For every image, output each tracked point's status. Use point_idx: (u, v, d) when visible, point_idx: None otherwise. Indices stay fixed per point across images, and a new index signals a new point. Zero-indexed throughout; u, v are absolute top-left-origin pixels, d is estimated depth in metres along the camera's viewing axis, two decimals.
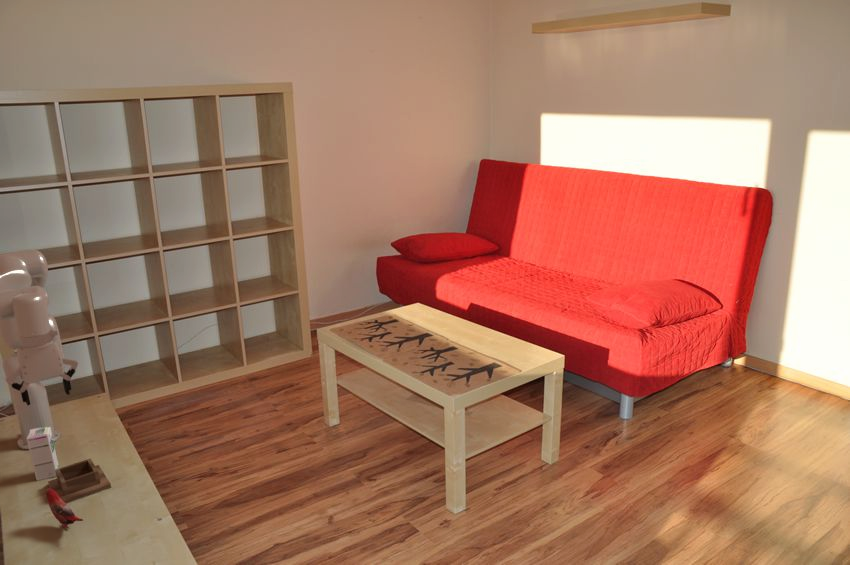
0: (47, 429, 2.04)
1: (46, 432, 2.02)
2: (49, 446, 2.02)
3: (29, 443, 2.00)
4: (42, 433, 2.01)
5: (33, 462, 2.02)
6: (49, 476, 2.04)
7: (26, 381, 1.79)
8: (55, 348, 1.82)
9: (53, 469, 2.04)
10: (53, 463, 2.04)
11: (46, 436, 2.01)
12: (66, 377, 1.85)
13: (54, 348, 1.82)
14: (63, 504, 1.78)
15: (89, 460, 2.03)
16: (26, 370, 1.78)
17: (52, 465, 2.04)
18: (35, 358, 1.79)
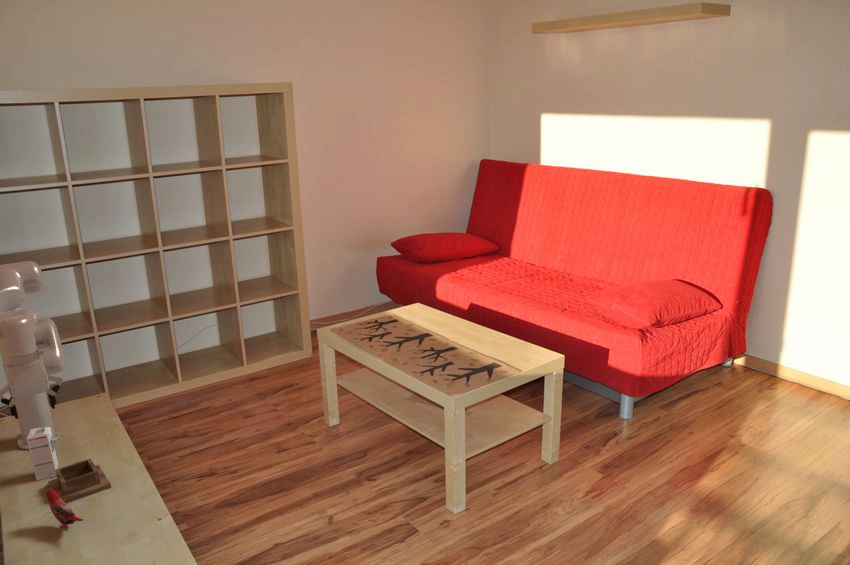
0: (47, 429, 2.04)
1: (46, 432, 2.02)
2: (49, 446, 2.02)
3: (29, 443, 2.00)
4: (42, 433, 2.01)
5: (33, 462, 2.02)
6: (49, 476, 2.04)
7: (14, 397, 1.95)
8: (41, 366, 1.98)
9: (53, 470, 2.04)
10: (53, 463, 2.04)
11: (46, 436, 2.01)
12: (51, 392, 2.01)
13: (40, 366, 1.98)
14: (63, 504, 1.78)
15: (89, 460, 2.03)
16: (14, 386, 1.94)
17: (52, 465, 2.04)
18: (22, 375, 1.95)
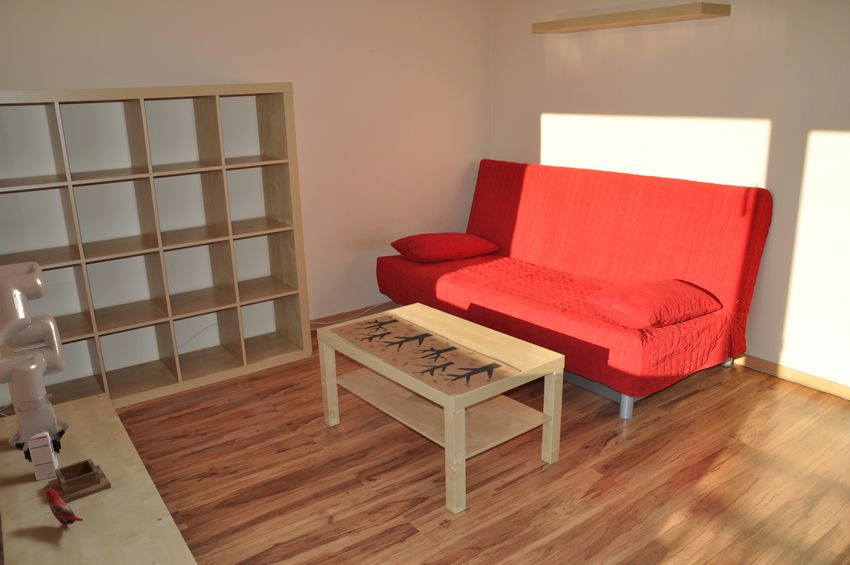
0: None
1: (46, 432, 2.02)
2: (49, 446, 2.02)
3: (29, 443, 2.00)
4: (42, 433, 2.01)
5: (33, 462, 2.02)
6: (49, 476, 2.04)
7: (24, 440, 1.99)
8: (50, 410, 2.02)
9: (53, 469, 2.04)
10: (53, 463, 2.04)
11: (46, 436, 2.01)
12: (57, 437, 2.05)
13: (49, 409, 2.02)
14: (63, 504, 1.78)
15: (89, 460, 2.03)
16: (24, 430, 1.98)
17: (52, 465, 2.04)
18: (31, 419, 1.99)
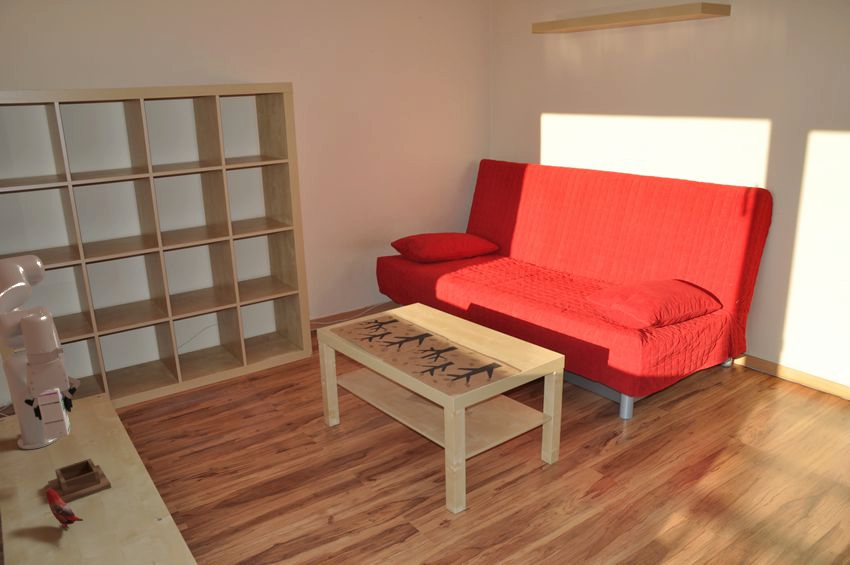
0: None
1: None
2: (60, 403, 1.93)
3: (39, 399, 1.91)
4: (53, 389, 1.92)
5: (43, 420, 1.92)
6: (60, 435, 1.95)
7: (33, 396, 1.90)
8: (61, 364, 1.92)
9: (64, 428, 1.95)
10: (64, 421, 1.94)
11: (57, 392, 1.92)
12: (68, 395, 1.96)
13: (60, 364, 1.92)
14: (63, 504, 1.78)
15: (89, 460, 2.03)
16: (34, 385, 1.89)
17: (63, 423, 1.94)
18: (42, 374, 1.89)
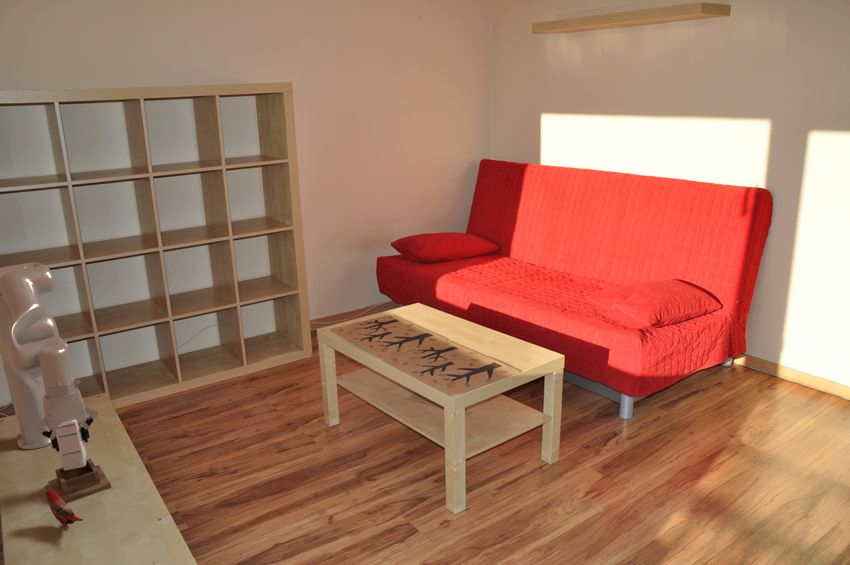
0: None
1: (74, 420, 1.93)
2: (77, 434, 1.93)
3: (56, 431, 1.91)
4: (71, 421, 1.92)
5: (61, 451, 1.92)
6: (77, 466, 1.95)
7: (51, 428, 1.90)
8: (78, 396, 1.92)
9: (81, 459, 1.95)
10: (81, 452, 1.95)
11: (74, 424, 1.92)
12: (85, 426, 1.96)
13: (77, 396, 1.92)
14: (63, 504, 1.78)
15: (89, 460, 2.03)
16: (51, 418, 1.89)
17: (80, 454, 1.95)
18: (59, 406, 1.89)
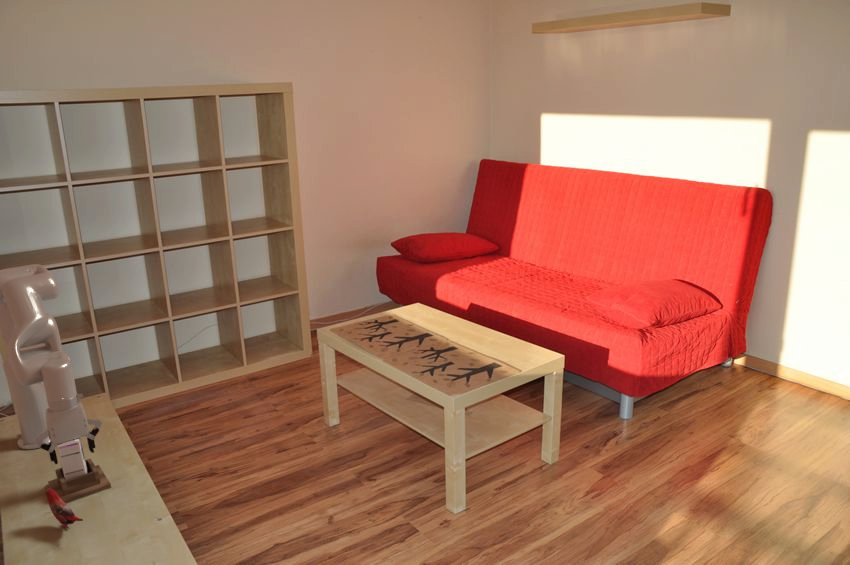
0: None
1: (77, 439, 1.95)
2: (80, 453, 1.95)
3: (60, 451, 1.92)
4: (73, 440, 1.94)
5: (64, 470, 1.94)
6: None
7: (54, 442, 1.91)
8: (81, 410, 1.94)
9: None
10: (84, 471, 1.97)
11: (77, 443, 1.94)
12: (91, 436, 1.97)
13: (80, 410, 1.94)
14: (63, 504, 1.78)
15: (89, 460, 2.03)
16: (54, 432, 1.90)
17: (83, 473, 1.97)
18: (62, 420, 1.91)
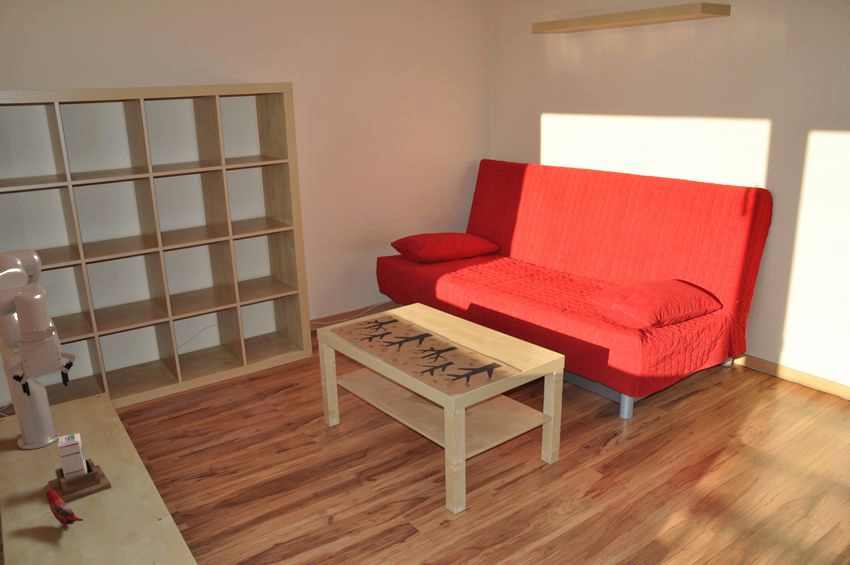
0: (77, 436, 1.96)
1: (77, 439, 1.95)
2: (80, 453, 1.95)
3: (59, 451, 1.92)
4: (73, 440, 1.94)
5: (64, 470, 1.94)
6: None
7: (27, 373, 1.90)
8: (54, 343, 1.93)
9: None
10: (84, 471, 1.97)
11: (77, 443, 1.94)
12: (64, 370, 1.97)
13: (53, 342, 1.93)
14: (63, 504, 1.78)
15: (89, 460, 2.03)
16: (27, 363, 1.89)
17: (83, 473, 1.97)
18: (35, 352, 1.90)
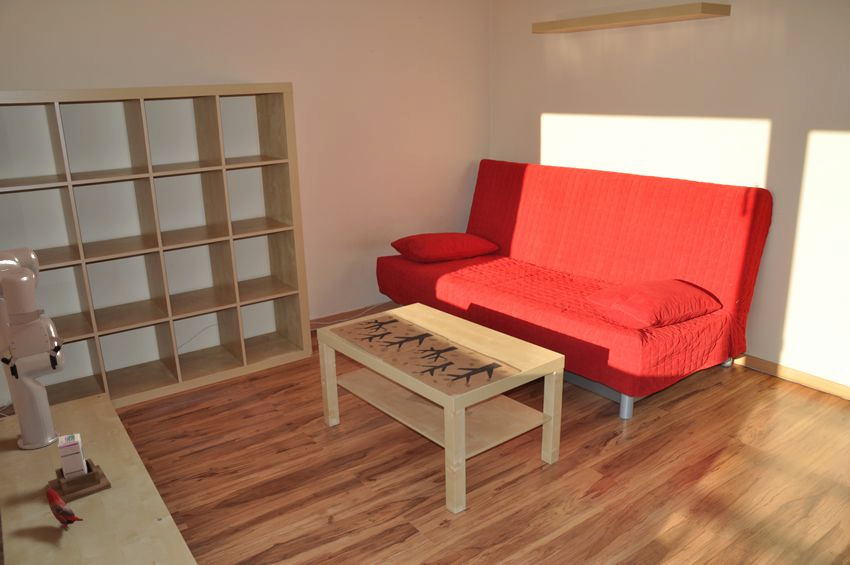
0: (77, 436, 1.96)
1: (77, 439, 1.95)
2: (80, 453, 1.95)
3: (59, 451, 1.92)
4: (73, 440, 1.94)
5: (64, 470, 1.94)
6: None
7: (14, 356, 1.91)
8: (42, 325, 1.94)
9: None
10: (84, 471, 1.97)
11: (77, 443, 1.94)
12: (52, 353, 1.98)
13: (41, 325, 1.94)
14: (63, 504, 1.78)
15: (89, 460, 2.03)
16: (15, 345, 1.91)
17: (83, 473, 1.97)
18: (23, 334, 1.91)
